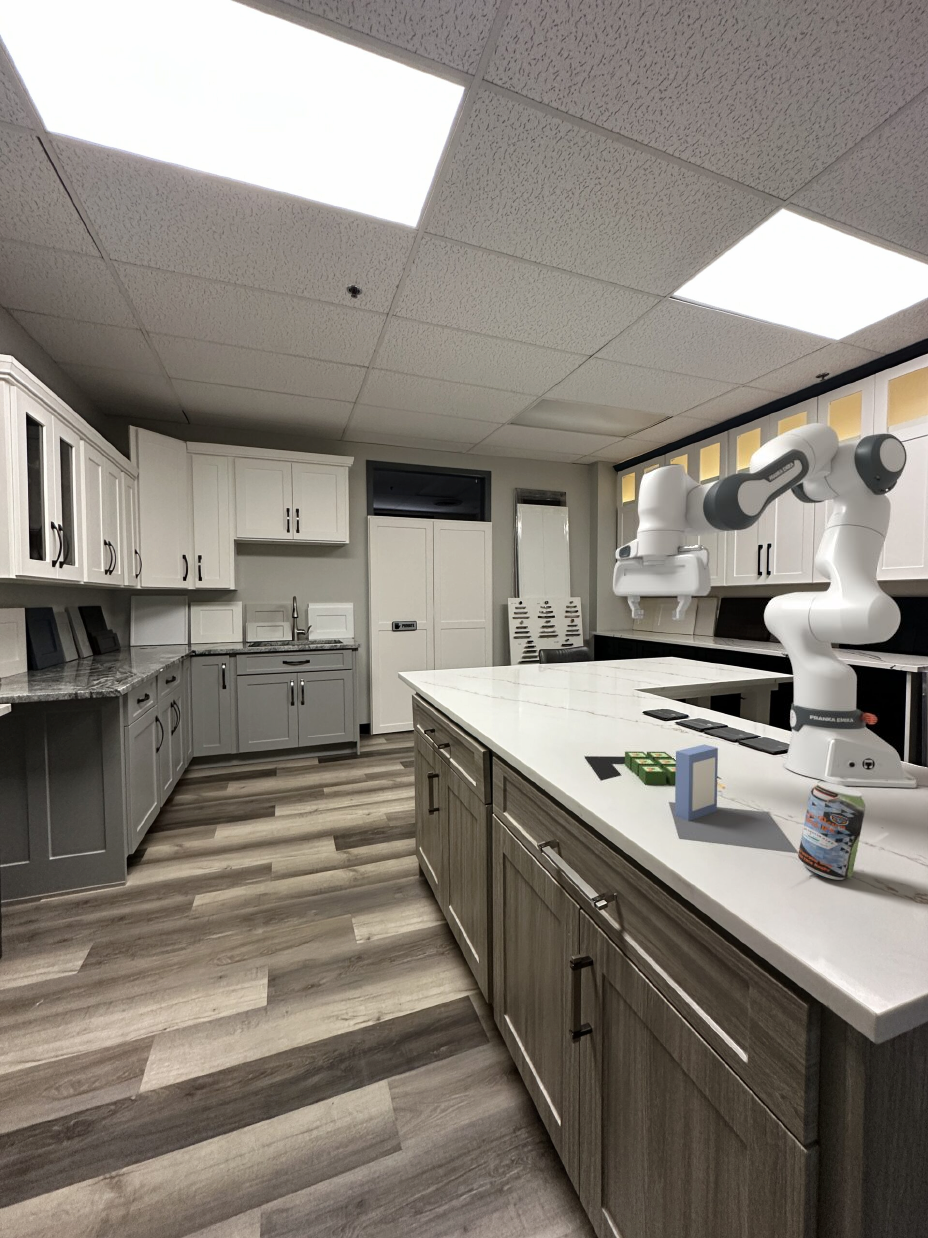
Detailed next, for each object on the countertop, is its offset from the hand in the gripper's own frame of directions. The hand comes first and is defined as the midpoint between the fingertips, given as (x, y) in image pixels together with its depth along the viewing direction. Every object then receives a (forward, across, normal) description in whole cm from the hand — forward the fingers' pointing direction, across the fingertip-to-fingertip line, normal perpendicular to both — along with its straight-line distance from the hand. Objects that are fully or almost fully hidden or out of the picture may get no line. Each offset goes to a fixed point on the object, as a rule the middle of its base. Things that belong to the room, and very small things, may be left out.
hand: (657, 619), depth 100 cm
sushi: (+34, +4, -7) cm, 35 cm away
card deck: (+33, -13, +4) cm, 36 cm away
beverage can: (+34, -34, +6) cm, 48 cm away
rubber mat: (+33, -18, +4) cm, 38 cm away
